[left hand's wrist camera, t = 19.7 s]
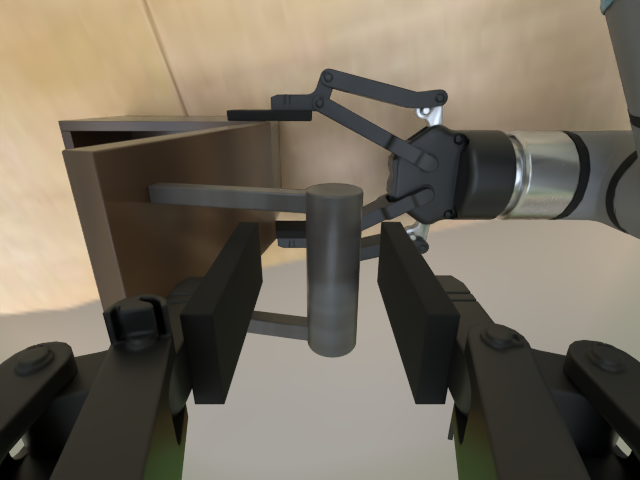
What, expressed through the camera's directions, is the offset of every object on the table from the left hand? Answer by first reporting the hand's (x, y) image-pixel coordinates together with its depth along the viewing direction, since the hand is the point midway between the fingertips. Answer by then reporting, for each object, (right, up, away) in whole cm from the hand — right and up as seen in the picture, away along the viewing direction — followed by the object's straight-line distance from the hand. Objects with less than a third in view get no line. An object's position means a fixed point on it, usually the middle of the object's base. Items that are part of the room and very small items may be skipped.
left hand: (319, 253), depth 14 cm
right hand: (-7, +6, +16) cm, 18 cm away
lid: (-6, +2, +6) cm, 9 cm away
